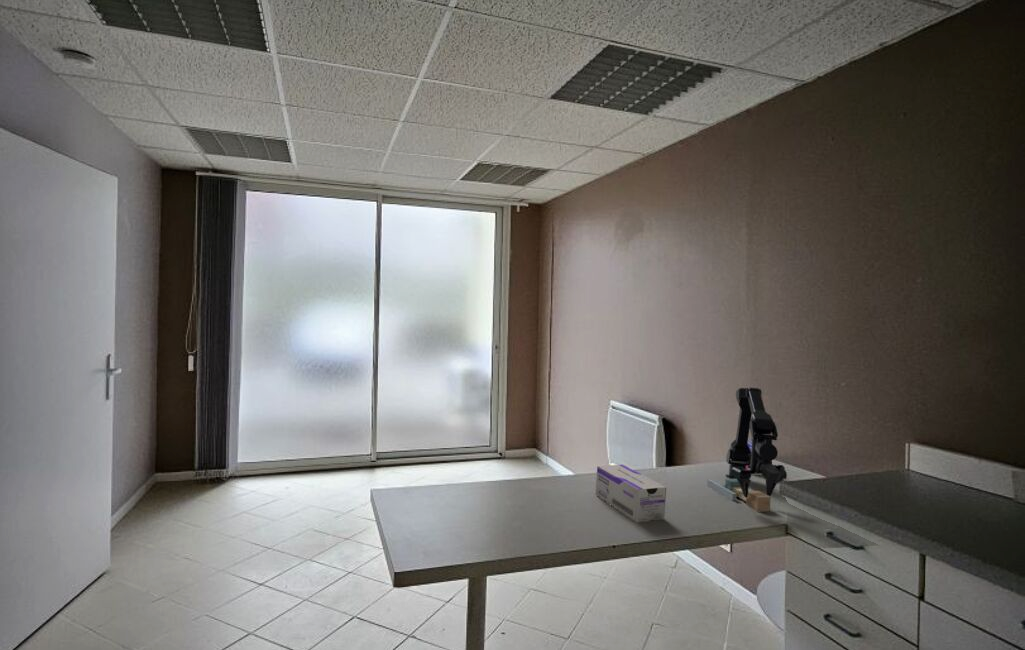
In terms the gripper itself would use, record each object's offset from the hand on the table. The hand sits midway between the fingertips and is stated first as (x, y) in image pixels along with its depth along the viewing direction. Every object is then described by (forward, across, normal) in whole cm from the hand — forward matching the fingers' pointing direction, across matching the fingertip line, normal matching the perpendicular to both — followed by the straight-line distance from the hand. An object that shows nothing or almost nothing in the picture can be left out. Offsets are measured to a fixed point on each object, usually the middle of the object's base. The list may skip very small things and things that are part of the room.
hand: (757, 496), depth 187 cm
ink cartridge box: (+4, +28, +38) cm, 48 cm away
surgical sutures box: (+4, -47, +4) cm, 47 cm away
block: (+4, 0, -1) cm, 4 cm away
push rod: (+3, 0, +9) cm, 9 cm away
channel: (+4, 0, +14) cm, 15 cm away
